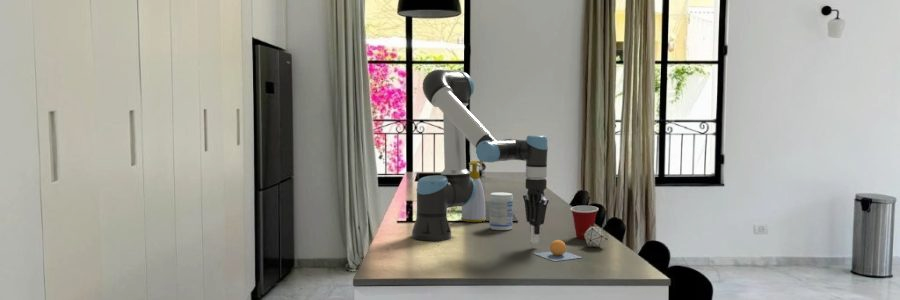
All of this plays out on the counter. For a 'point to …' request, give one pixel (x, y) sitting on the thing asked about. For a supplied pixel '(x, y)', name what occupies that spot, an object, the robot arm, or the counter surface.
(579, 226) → the plastic cup
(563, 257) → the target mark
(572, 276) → the counter surface
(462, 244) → the counter surface
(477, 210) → the soap bottle
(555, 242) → the ball
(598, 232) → the game die
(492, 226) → the supplement tub
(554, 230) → the counter surface
